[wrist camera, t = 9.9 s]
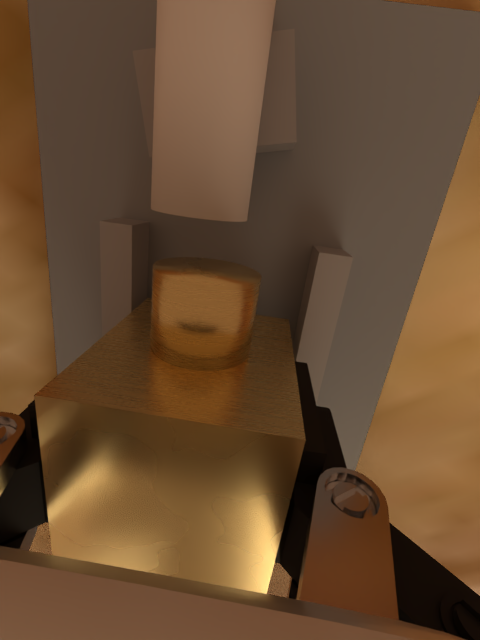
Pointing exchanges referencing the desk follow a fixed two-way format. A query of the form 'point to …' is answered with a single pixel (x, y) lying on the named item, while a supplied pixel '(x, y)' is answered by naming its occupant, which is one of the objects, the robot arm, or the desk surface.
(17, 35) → the desk surface
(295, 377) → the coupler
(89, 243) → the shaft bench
